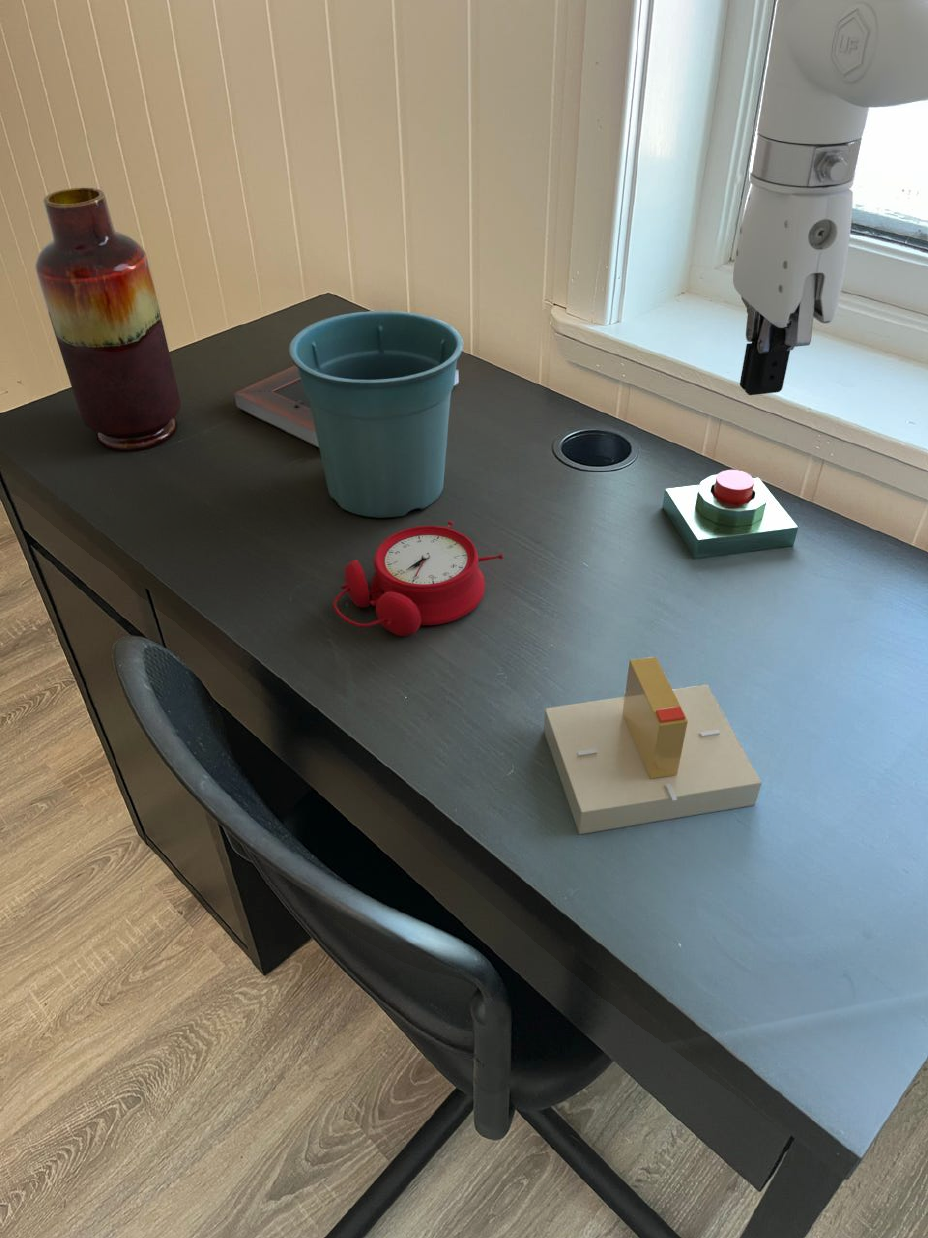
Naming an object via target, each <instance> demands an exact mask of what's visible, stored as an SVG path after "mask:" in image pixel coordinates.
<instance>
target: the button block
mask: <svg viewBox="0 0 928 1238" xmlns="http://www.w3.org/2000/svg"><path fill="white" fill-rule="evenodd" d="M717 475H718V474H712V475H710V476H708V477H706V478H705V479H703V480H701V481H700V482H699V484H695V485H687V486H686V485H685V486H678V487H677V486H676V487H669V488H665V489H664V495H663V501H662V509H663V510H664V512H665V513H666V515H667V517H668V518H669V519H670V521H671V523H672V524H673V526H674V528H675V529H676V531H677V533H678V534H679V536H680V537H681V539H682V540H683V542H684V544H685V545H686V547H687V548H688V550H689V552H690V553H691V555H692V556H693V558H694V559H695V560H696V559H703V558H711V557H720V556H724V555H726V556H727V555H732V554H733V555H734V554H741V553H748V552H755V551H756V552H757V551H765V550H772V549H781V548H787V547H793V546H794V545H795V541H796V539H797V538H796V537H797V534H798V530H799V526H798V525H797V524H796V523H795V521H794V520H793V519H792V517H791V516H790V515H789V513H787V511H786V510H785V509H784V507H783V506H782V505H781V504H780V502H779V501H778V500H777V499H776V498H775V496H774V495H773V494H772V493H771V492H770V490H769V488H768V487H767V486H766V485H765V483H764V482H763V481H762V480H761V479H760V478H759V477H753V478H754V481H755V483H754V488H753V493H752V497H751V500H750V501H749V502H747V503H743V504H731V503H725V502H722V501H720V500H718V499H716V498H715V496H714V494H713V491H714V486H715V480H716V476H717Z"/></svg>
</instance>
